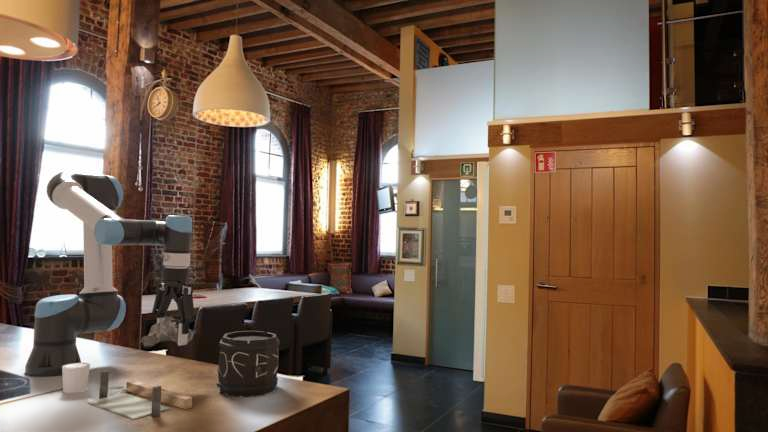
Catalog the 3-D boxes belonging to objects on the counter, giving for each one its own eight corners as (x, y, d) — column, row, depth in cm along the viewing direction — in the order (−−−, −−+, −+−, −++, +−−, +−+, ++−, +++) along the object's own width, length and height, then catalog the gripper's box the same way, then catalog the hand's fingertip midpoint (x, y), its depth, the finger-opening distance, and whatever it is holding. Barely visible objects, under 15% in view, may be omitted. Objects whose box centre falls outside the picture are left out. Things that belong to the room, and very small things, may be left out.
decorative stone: (146, 348, 151) (147, 311, 154) (134, 349, 158) (134, 314, 160) (200, 343, 163) (200, 310, 165) (187, 345, 169) (186, 313, 171)
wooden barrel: (222, 401, 147) (225, 343, 148) (210, 384, 163) (213, 331, 164) (287, 394, 155) (289, 339, 156) (269, 379, 171) (271, 329, 172)
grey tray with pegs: (81, 401, 143) (83, 374, 143) (132, 389, 155) (133, 364, 156) (140, 422, 129) (142, 392, 129) (191, 407, 141) (193, 380, 142)
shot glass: (94, 388, 155) (95, 363, 155) (73, 395, 148) (74, 369, 148) (76, 385, 157) (77, 361, 157) (54, 391, 150) (56, 366, 151)
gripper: (142, 264, 165) (137, 337, 165) (189, 270, 153) (184, 350, 153) (164, 263, 172) (159, 334, 171) (211, 269, 160) (206, 346, 159)
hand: (171, 341), depth 162 cm, fingers closed on decorative stone, 10 cm apart
